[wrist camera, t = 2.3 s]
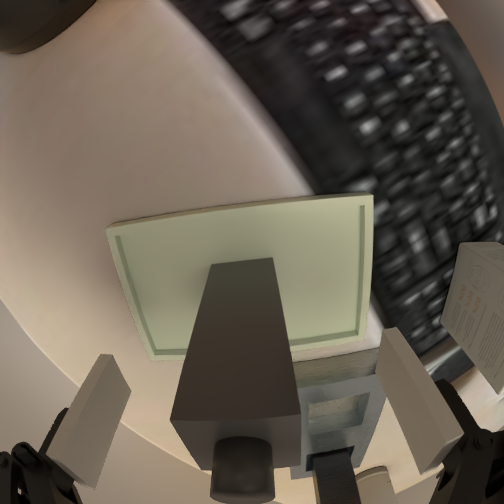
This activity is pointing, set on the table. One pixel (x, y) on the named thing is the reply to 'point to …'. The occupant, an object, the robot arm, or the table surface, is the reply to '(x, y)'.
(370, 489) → the travel mug
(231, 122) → the table surface
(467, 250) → the small box
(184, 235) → the tray
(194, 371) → the plug
